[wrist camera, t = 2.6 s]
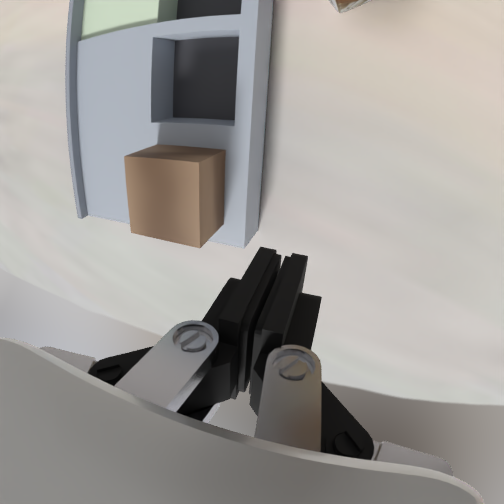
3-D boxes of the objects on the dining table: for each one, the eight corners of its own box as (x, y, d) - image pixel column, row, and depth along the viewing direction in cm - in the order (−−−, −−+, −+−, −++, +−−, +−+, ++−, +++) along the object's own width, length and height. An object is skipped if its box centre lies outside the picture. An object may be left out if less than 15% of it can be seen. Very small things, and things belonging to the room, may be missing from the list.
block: (225, 149, 19) (199, 162, 16) (223, 224, 21) (200, 248, 18) (157, 144, 20) (124, 156, 17) (160, 212, 22) (131, 232, 20)
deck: (280, -60, 13) (263, -85, 10) (261, 230, 24) (242, 256, 21) (103, -25, 17) (70, -31, 14) (103, 201, 28) (74, 218, 25)
